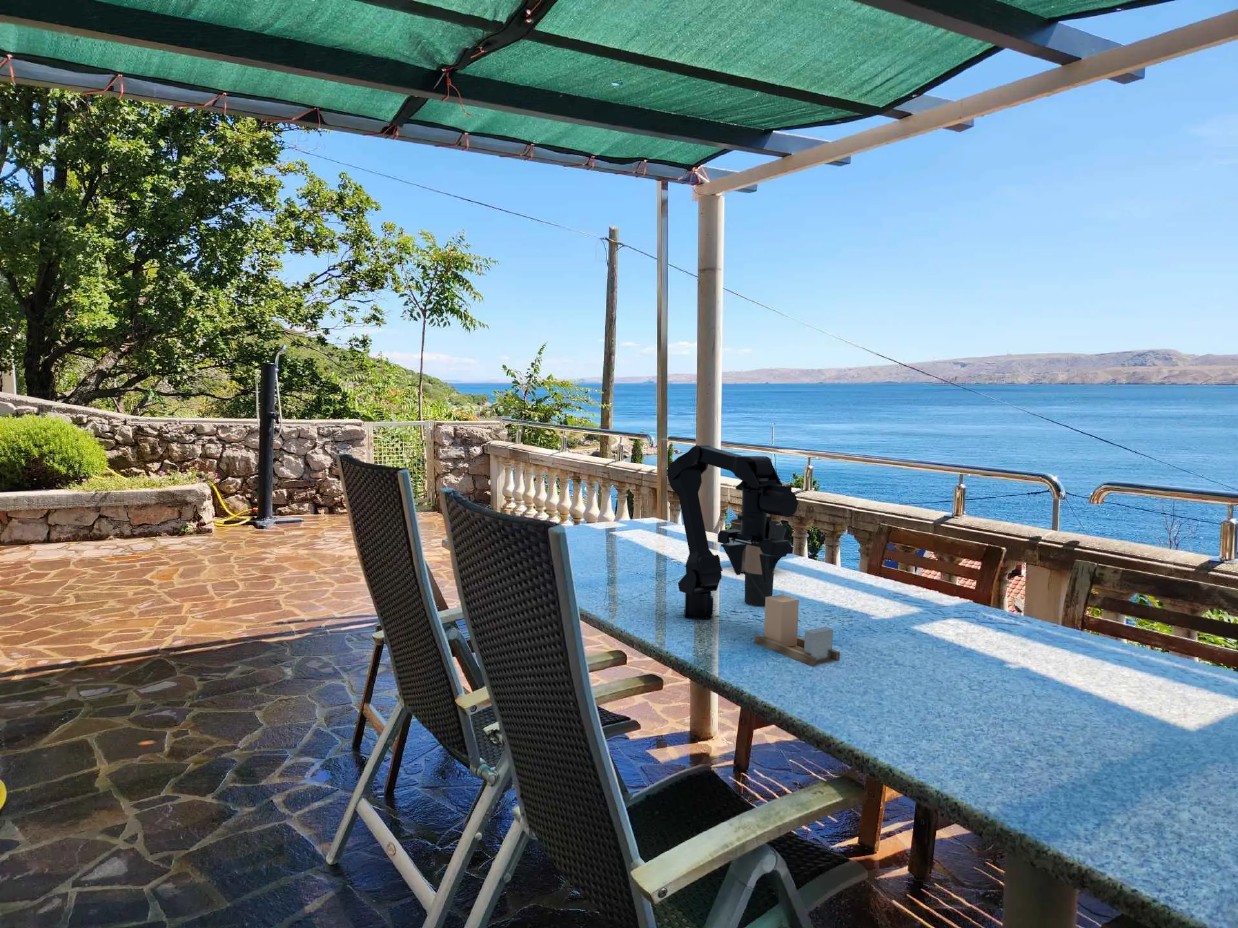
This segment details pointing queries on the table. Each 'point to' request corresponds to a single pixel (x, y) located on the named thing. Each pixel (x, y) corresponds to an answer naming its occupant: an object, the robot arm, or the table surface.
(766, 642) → the rail
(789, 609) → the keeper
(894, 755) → the table surface
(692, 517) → the robot arm
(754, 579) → the travel mug
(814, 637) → the grey square block
